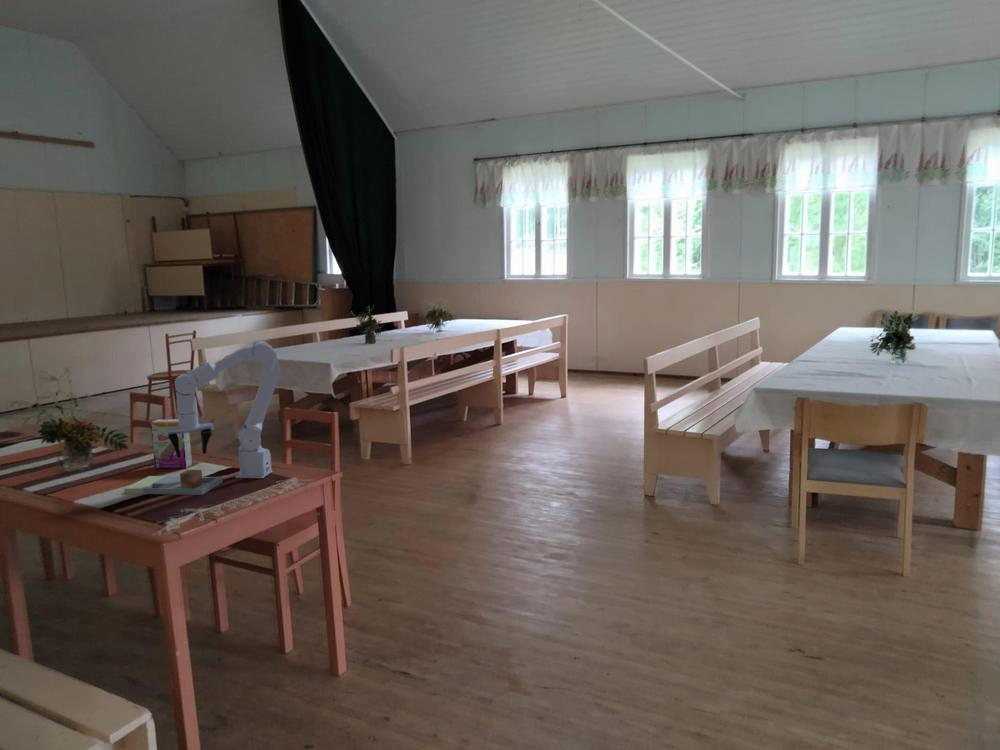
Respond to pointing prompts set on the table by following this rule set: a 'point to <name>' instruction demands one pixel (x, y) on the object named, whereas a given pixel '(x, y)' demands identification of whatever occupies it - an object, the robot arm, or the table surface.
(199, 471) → the walnut block
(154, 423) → the candy bar box
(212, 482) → the board
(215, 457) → the table surface
